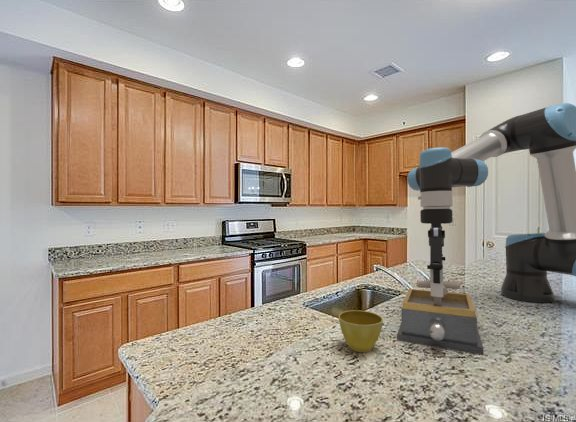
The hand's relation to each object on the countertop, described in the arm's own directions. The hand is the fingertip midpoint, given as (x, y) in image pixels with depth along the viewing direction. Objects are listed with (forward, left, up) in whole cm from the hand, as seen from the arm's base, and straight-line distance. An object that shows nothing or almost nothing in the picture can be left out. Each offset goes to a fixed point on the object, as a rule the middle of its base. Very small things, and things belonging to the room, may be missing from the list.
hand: (437, 289), depth 79 cm
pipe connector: (0, 0, -4) cm, 4 cm away
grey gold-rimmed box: (0, +2, -11) cm, 11 cm away
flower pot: (+16, +17, -11) cm, 26 cm away
